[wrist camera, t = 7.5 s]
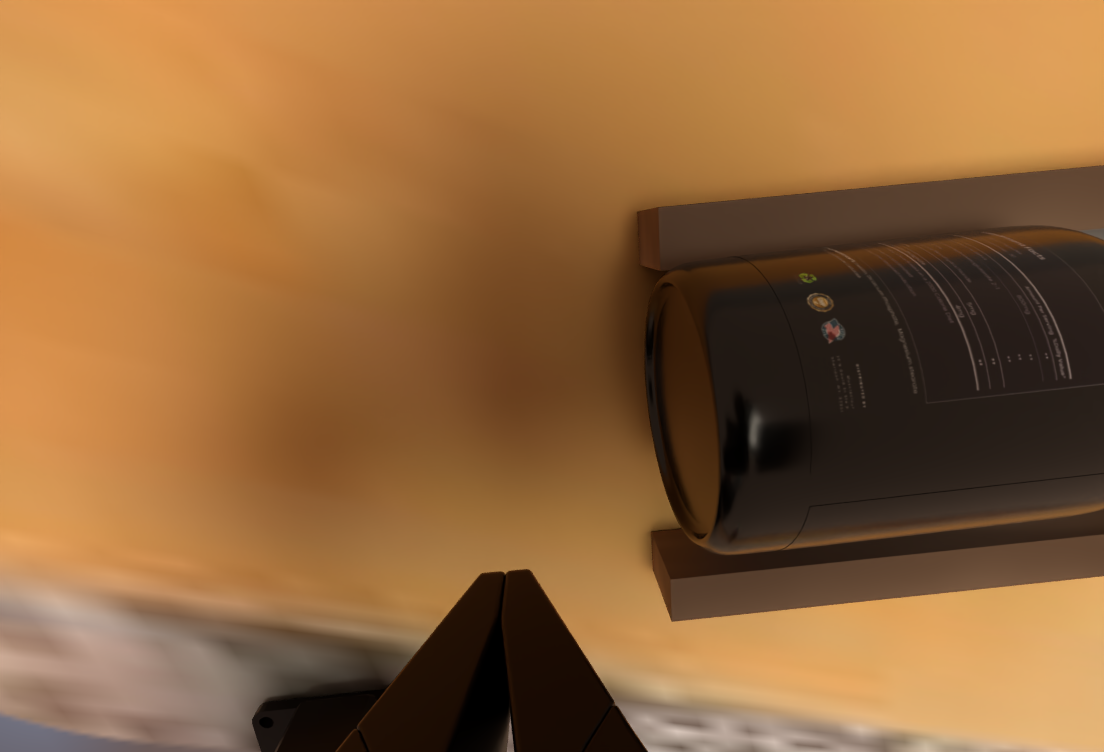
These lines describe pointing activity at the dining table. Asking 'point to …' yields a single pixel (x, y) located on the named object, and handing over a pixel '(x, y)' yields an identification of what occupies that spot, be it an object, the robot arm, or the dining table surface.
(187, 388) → the dining table surface
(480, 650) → the robot arm
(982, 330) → the supplement bottle
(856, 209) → the cradle
